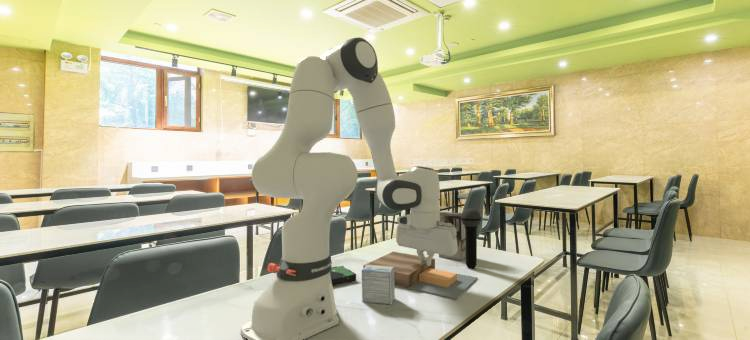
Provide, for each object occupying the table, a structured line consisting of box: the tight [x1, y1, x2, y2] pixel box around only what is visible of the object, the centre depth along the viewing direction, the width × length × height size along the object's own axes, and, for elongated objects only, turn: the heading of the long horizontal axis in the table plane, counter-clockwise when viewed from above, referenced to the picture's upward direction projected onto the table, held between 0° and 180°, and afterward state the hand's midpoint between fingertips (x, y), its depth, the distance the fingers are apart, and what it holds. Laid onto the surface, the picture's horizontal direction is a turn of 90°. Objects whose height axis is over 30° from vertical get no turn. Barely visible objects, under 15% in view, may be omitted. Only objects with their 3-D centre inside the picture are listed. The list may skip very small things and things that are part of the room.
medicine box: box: [361, 265, 396, 305], centre depth 90 cm, size 8×4×9 cm, turn 74°
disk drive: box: [330, 265, 357, 287], centre depth 105 cm, size 10×3×15 cm
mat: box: [408, 273, 478, 300], centre depth 101 cm, size 18×14×1 cm
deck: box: [362, 251, 436, 290], centre depth 109 cm, size 18×16×4 cm
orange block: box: [419, 268, 458, 287], centre depth 102 cm, size 7×9×2 cm
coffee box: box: [438, 211, 466, 261], centre depth 127 cm, size 9×6×16 cm
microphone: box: [461, 208, 482, 270], centre depth 114 cm, size 7×7×20 cm
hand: (425, 264), depth 104 cm, fingers closed
